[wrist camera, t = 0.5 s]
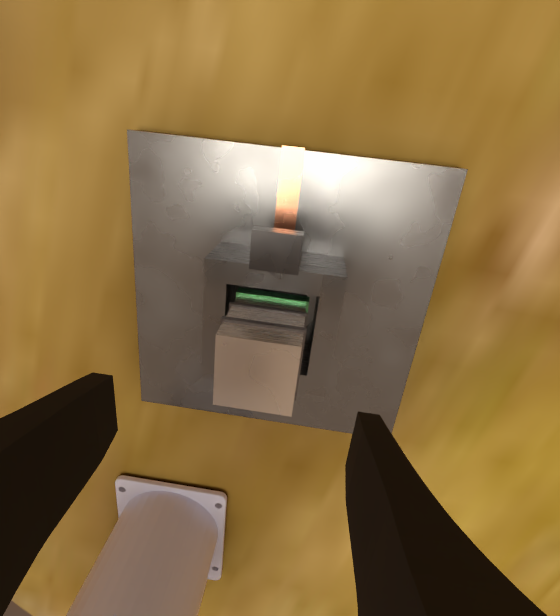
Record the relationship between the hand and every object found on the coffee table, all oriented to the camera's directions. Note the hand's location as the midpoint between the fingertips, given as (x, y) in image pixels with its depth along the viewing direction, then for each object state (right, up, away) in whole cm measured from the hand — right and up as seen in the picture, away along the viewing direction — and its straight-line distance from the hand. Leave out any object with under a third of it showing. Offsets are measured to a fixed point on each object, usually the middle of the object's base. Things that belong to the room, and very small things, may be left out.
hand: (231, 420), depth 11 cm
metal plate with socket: (+1, +4, +10) cm, 10 cm away
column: (+1, +3, +8) cm, 9 cm away
